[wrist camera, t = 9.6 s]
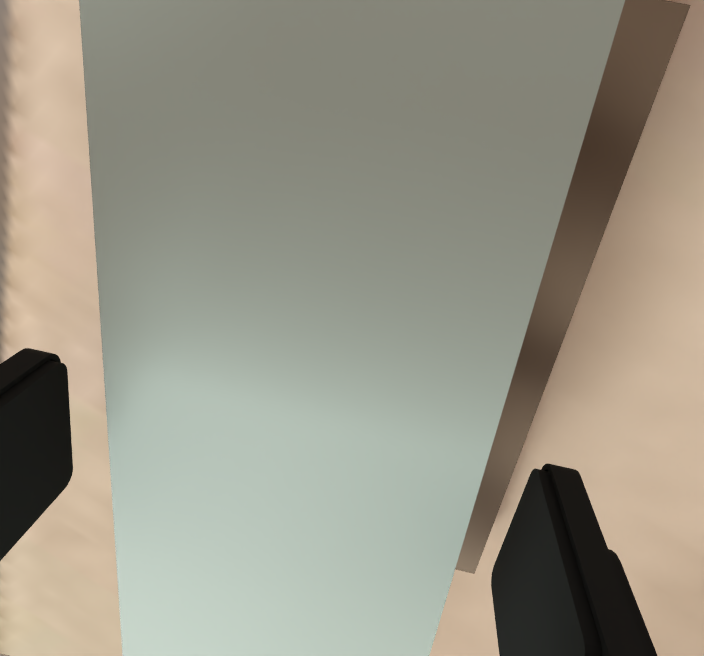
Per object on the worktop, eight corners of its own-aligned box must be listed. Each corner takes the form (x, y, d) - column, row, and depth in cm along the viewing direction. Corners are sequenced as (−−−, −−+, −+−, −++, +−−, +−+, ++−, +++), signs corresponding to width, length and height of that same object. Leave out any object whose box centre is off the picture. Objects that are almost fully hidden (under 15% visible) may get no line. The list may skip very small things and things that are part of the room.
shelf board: (184, -146, 10) (62, -258, 6) (594, -95, 9) (680, -185, 6) (181, 626, 18) (128, 743, 15) (393, 672, 18) (385, 802, 14)
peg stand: (471, 536, 24) (485, 700, 18) (160, 464, 25) (65, 599, 18) (659, 13, 15) (819, -31, 9) (175, -76, 16) (9, -177, 10)
